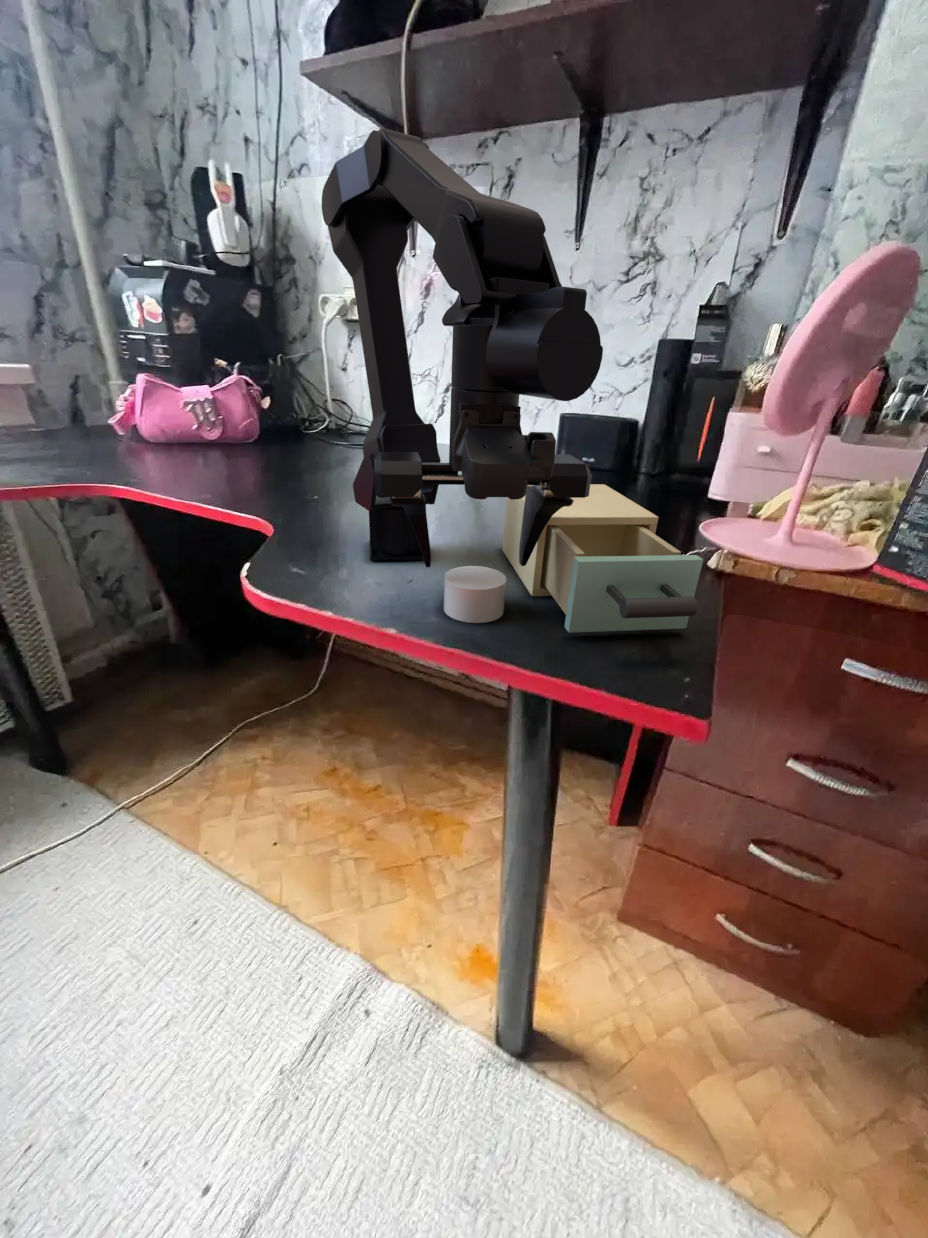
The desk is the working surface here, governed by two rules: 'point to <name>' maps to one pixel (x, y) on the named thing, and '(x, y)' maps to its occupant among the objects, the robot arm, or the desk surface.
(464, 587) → the cylinder
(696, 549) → the desk surface
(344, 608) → the desk surface
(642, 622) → the drawer
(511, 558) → the cabinet
